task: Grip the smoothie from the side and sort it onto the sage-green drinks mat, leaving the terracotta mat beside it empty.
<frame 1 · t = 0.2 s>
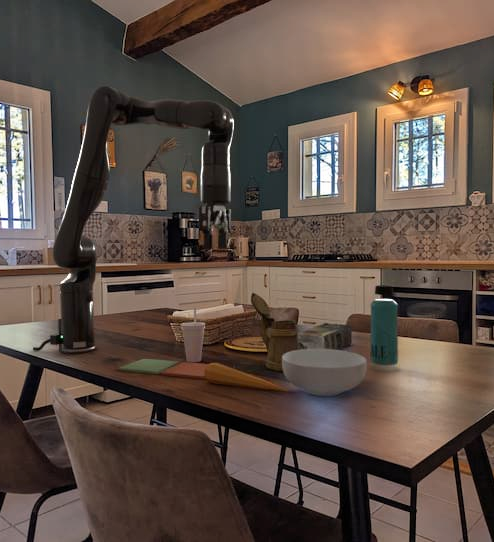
hand: (215, 249, 129), 29 cm above the table, tool pointing down, fingers open, 8 cm apart
beverage bottle: (384, 369, 121), on the table
grey patterned box: (323, 349, 145), on the table
cereal bowl: (323, 391, 104), on the table
smoothie: (193, 361, 133), on the table
wooden mug: (276, 366, 126), on the table
carrot: (245, 387, 108), on the table
terracotta mat: (192, 371, 122), on the table
green mat: (150, 367, 127), on the table
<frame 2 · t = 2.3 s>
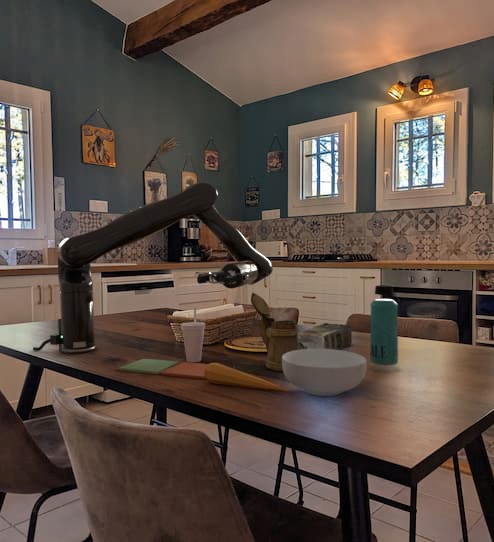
hand: (212, 280, 142), 20 cm above the table, tool horizontal, fingers open, 8 cm apart
nothing on the table moved.
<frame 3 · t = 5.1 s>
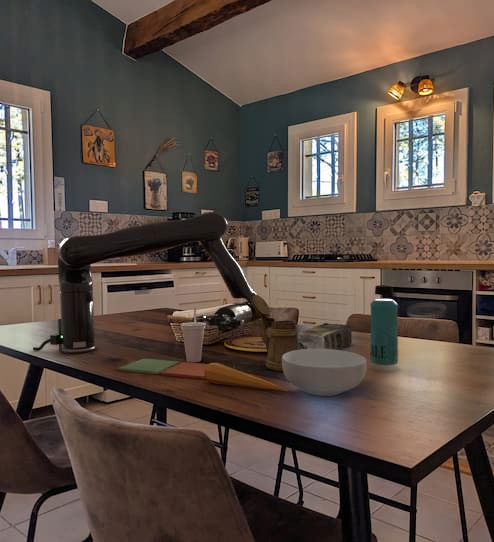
hand: (207, 325, 140), 8 cm above the table, tool horizontal, fingers open, 8 cm apart
nothing on the table moved.
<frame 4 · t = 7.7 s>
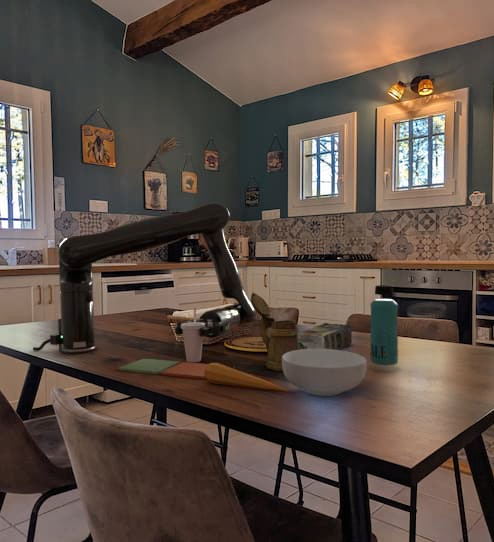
hand: (188, 331, 130), 8 cm above the table, tool horizontal, fingers closed on smoothie, 6 cm apart
smoothie: (193, 361, 133), on the table, touching gripper
everything else where it was.
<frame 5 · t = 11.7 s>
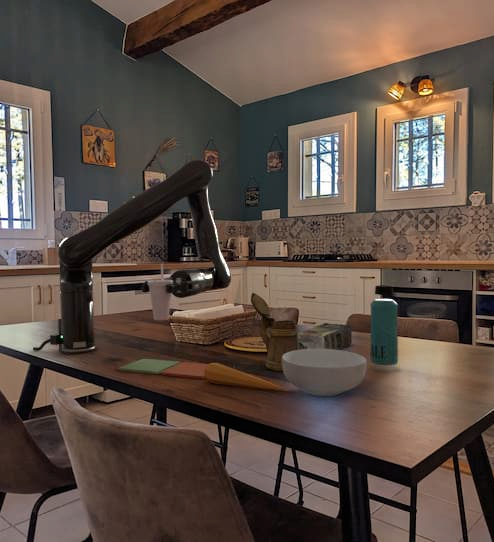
hand: (155, 288, 125), 20 cm above the table, tool horizontal, fingers closed on smoothie, 6 cm apart
smoothie: (161, 320, 128), point 11 cm above the table, touching gripper
everything else where it was.
when the fingers open (9 cm above the table, at t = 15.7 s): smoothie stays where it is, resting on green mat.
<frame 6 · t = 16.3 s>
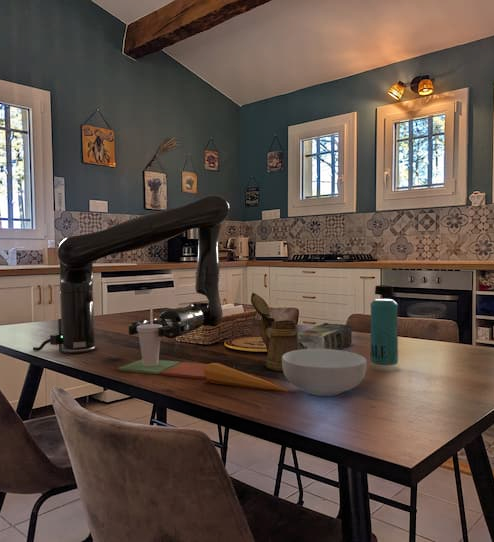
hand: (144, 331, 124), 9 cm above the table, tool horizontal, fingers open, 8 cm apart
smoothie: (150, 365, 127), resting on green mat
everything else where it was.
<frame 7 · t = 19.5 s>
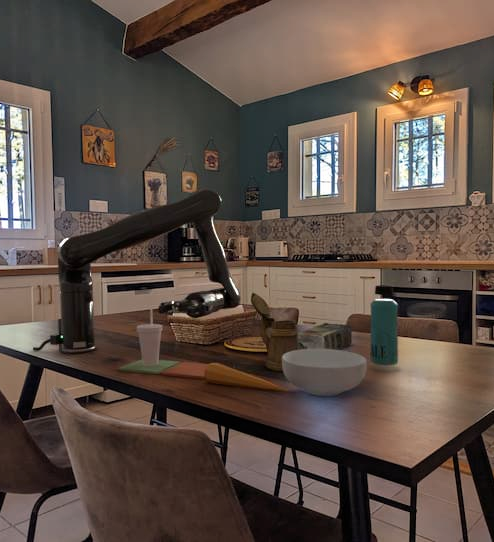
hand: (173, 310, 137), 13 cm above the table, tool horizontal, fingers open, 8 cm apart
nothing on the table moved.
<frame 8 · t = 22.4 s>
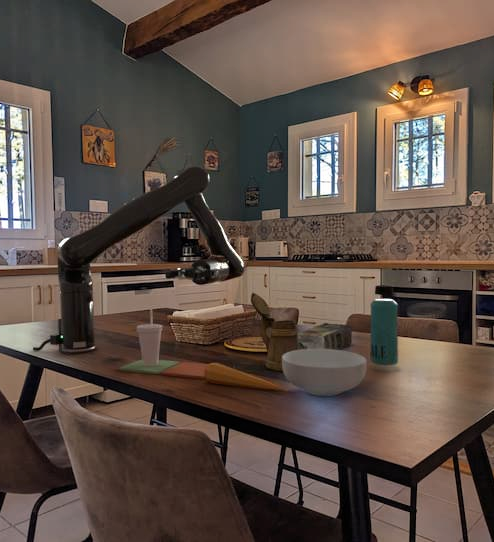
hand: (180, 274, 140), 22 cm above the table, tool horizontal, fingers open, 8 cm apart
nothing on the table moved.
at the end: smoothie inside the target area on the green mat (0.1 cm from its centre), point 0.4 cm above the green mat's base; smoothie tilted 0°; smoothie touching green mat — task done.
